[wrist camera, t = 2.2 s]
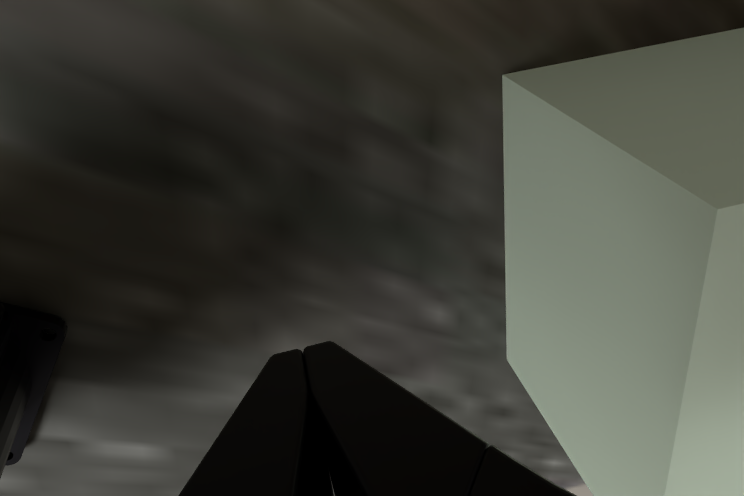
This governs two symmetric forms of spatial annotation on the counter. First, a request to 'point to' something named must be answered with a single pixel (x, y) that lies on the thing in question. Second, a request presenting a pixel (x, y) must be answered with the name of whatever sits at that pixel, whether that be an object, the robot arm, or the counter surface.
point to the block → (632, 262)
